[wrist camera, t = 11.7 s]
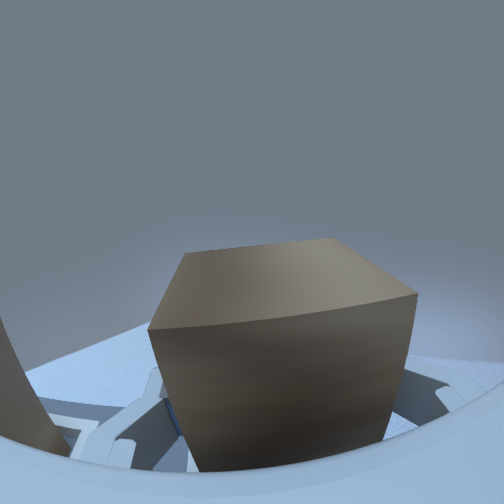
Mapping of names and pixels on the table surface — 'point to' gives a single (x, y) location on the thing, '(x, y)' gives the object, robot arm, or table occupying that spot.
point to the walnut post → (281, 352)
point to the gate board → (60, 417)
